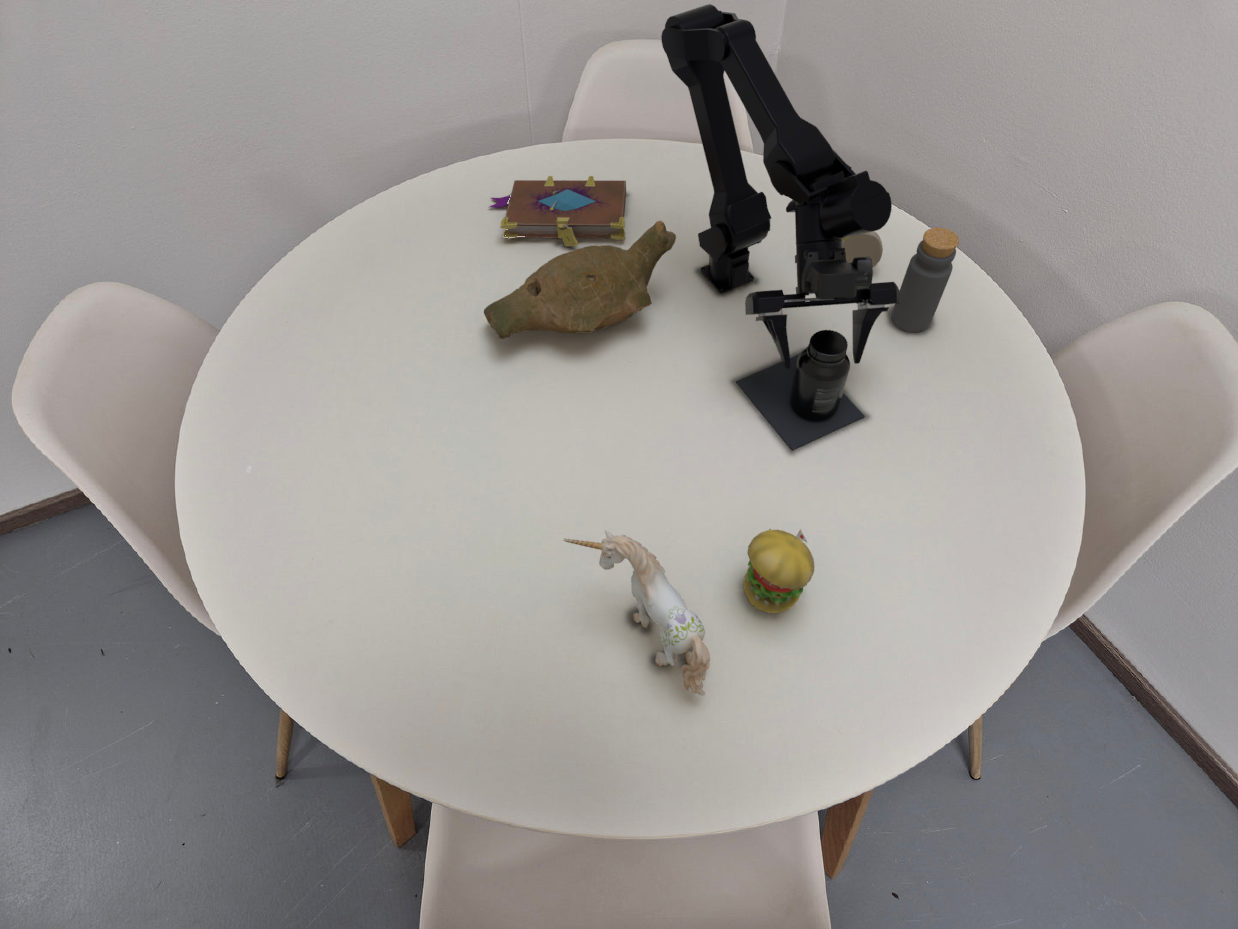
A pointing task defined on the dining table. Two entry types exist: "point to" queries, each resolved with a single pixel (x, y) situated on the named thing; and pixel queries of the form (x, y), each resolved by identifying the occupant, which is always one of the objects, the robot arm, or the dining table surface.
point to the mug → (863, 247)
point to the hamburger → (777, 570)
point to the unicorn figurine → (659, 606)
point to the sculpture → (583, 288)
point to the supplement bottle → (820, 376)
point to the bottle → (925, 280)
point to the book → (565, 209)
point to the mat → (774, 404)
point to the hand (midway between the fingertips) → (822, 365)
